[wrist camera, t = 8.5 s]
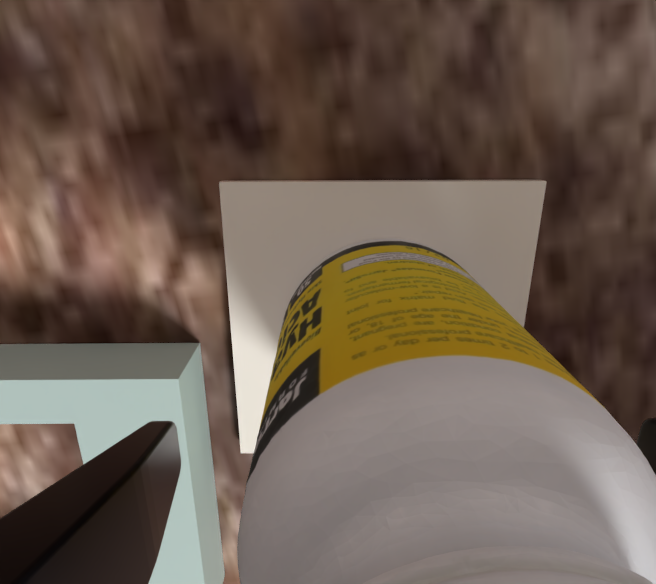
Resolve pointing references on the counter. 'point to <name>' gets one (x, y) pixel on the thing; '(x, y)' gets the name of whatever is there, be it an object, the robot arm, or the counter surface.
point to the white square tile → (352, 227)
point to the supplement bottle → (433, 442)
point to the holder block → (129, 426)
